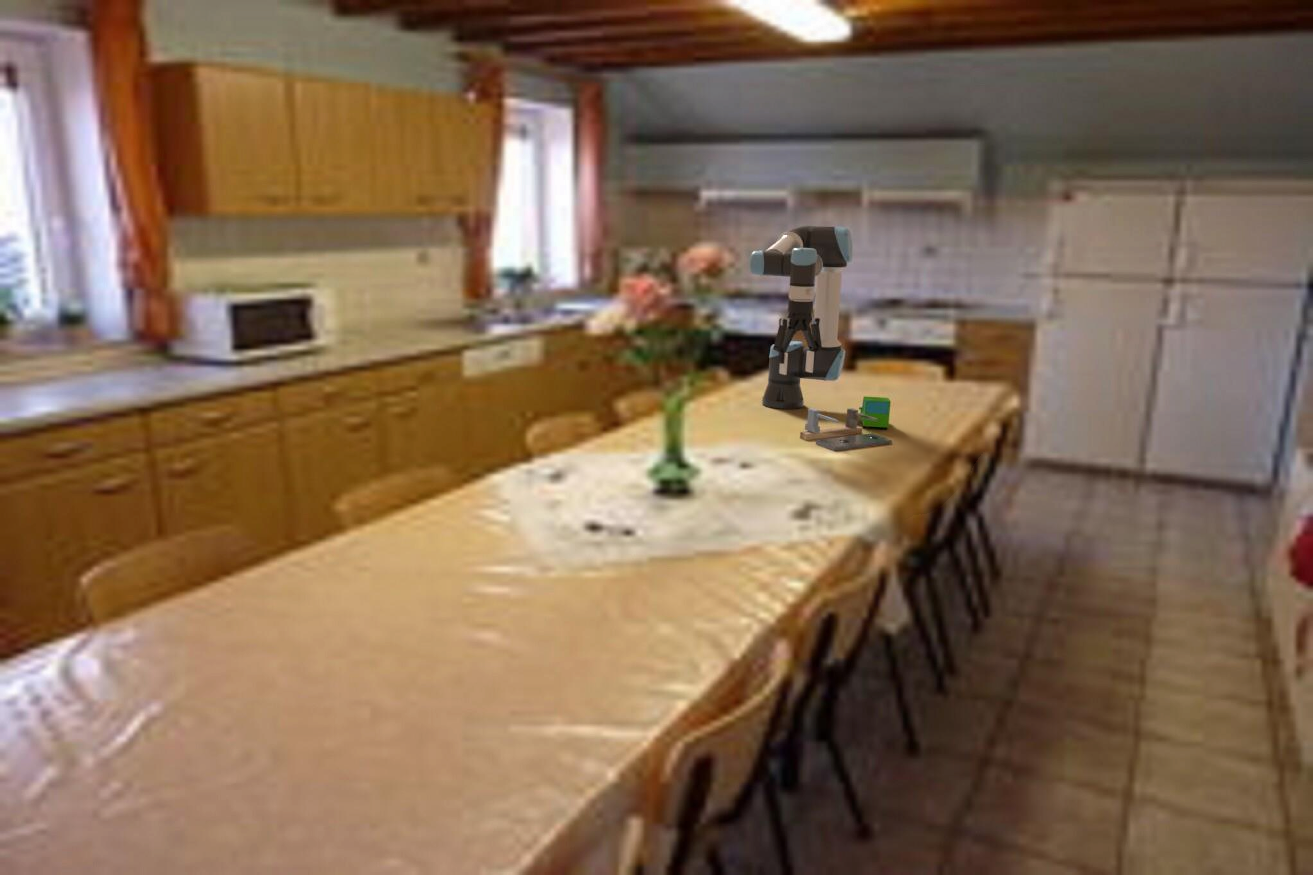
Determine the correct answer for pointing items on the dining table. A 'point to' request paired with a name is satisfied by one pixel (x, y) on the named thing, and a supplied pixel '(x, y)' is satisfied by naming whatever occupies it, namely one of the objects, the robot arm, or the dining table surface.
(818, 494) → the dining table surface
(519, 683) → the dining table surface
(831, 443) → the hole plate
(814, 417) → the grey hammer
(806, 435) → the rail
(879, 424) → the green box
